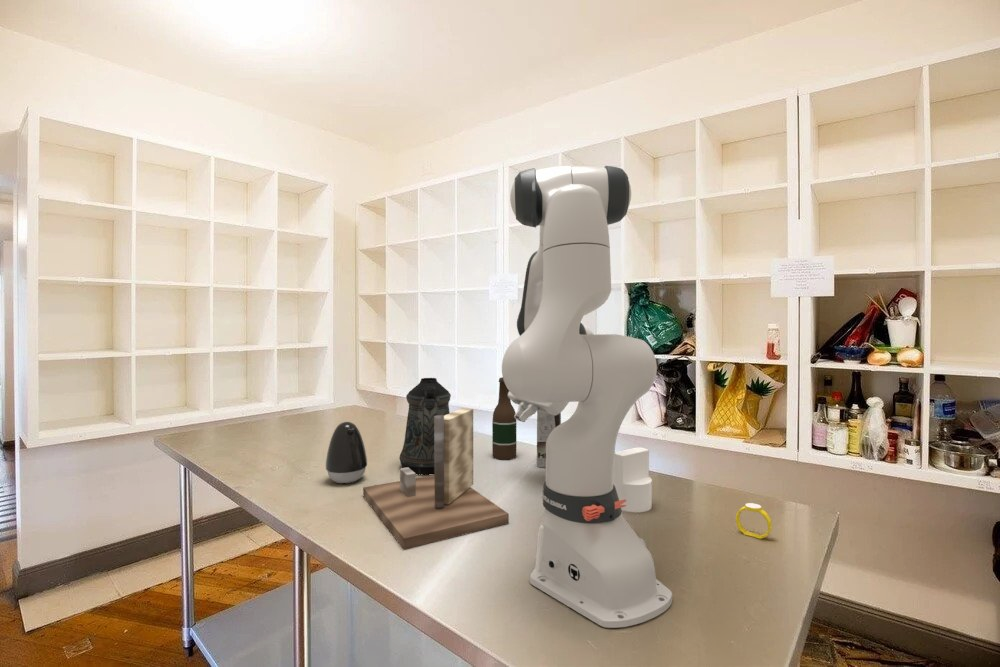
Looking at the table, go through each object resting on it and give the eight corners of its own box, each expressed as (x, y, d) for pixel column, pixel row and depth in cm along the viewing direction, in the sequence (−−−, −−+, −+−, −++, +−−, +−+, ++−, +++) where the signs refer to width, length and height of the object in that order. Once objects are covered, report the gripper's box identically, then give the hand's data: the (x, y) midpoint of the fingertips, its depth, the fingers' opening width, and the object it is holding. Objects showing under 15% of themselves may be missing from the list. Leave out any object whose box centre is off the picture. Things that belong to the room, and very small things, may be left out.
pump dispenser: (333, 490, 115) (332, 428, 114) (320, 478, 123) (320, 420, 123) (373, 481, 121) (373, 422, 120) (359, 471, 129) (358, 416, 129)
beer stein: (440, 454, 145) (439, 373, 145) (475, 470, 130) (475, 380, 129) (389, 464, 135) (389, 377, 134) (422, 483, 120) (421, 385, 119)
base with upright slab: (632, 515, 100) (633, 459, 100) (601, 502, 107) (602, 449, 107) (660, 506, 105) (660, 453, 105) (628, 494, 112) (629, 444, 112)
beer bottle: (521, 458, 141) (521, 378, 140) (497, 461, 138) (497, 379, 137) (511, 452, 148) (511, 375, 147) (487, 454, 145) (487, 376, 145)
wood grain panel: (443, 508, 98) (443, 417, 97) (430, 506, 99) (430, 416, 98) (473, 484, 112) (473, 404, 112) (461, 482, 113) (461, 404, 113)
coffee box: (559, 468, 132) (559, 411, 131) (536, 467, 133) (536, 410, 132) (561, 459, 140) (561, 405, 140) (539, 458, 142) (540, 404, 141)
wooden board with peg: (508, 523, 96) (508, 489, 96) (404, 549, 85) (403, 511, 85) (449, 480, 122) (449, 453, 122) (363, 495, 111) (363, 466, 111)
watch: (735, 535, 91) (733, 504, 92) (739, 530, 94) (737, 500, 94) (770, 542, 88) (767, 510, 88) (773, 537, 90) (771, 506, 90)
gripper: (522, 366, 129) (490, 404, 125) (568, 373, 111) (533, 419, 107) (535, 381, 132) (505, 419, 127) (583, 391, 114) (549, 436, 109)
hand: (518, 419), depth 117 cm, fingers closed
